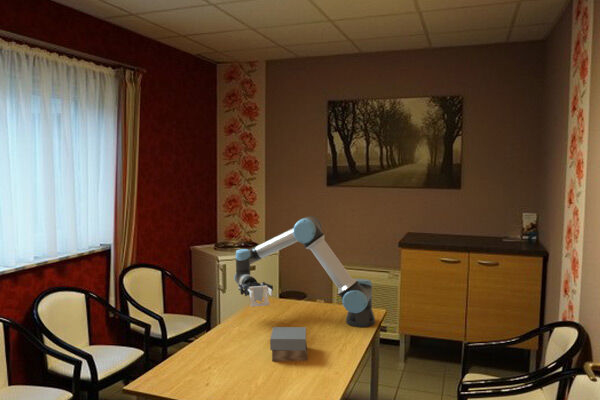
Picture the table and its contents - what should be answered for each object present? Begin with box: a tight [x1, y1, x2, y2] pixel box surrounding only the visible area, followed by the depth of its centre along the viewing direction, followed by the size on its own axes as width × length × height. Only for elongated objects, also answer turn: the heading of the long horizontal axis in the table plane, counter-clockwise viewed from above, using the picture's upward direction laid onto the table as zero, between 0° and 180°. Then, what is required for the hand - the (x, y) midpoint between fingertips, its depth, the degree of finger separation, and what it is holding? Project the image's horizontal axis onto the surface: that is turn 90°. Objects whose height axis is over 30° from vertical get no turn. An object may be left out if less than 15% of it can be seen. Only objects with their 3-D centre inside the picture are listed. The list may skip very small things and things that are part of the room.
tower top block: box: [269, 326, 307, 351], centre depth 216 cm, size 15×15×5 cm
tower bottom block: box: [271, 343, 308, 362], centre depth 216 cm, size 15×15×5 cm
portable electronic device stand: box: [249, 285, 270, 308], centre depth 234 cm, size 9×8×8 cm
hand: (261, 294), depth 229 cm, fingers closed on portable electronic device stand, 9 cm apart
